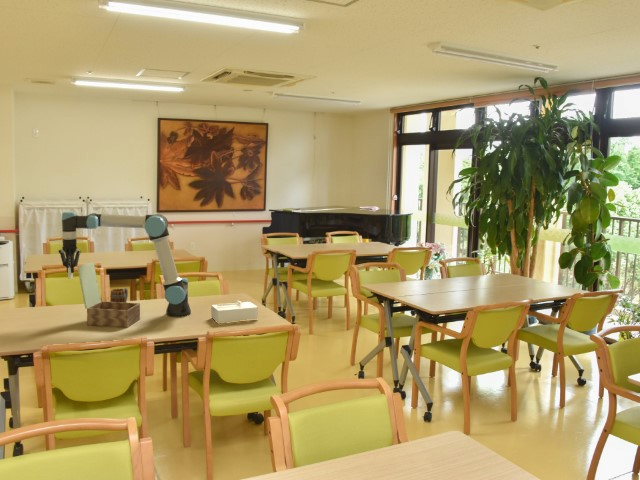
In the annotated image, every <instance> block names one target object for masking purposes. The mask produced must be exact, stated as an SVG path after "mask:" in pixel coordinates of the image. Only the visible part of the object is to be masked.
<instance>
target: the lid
mask: <svg viewBox="0 0 640 480" xmlns="http://www.w3.org/2000/svg"><path fill="white" fill-rule="evenodd" d="M94 262H95V261H91V262H88V263H85V264H82V265H80V266H76V267H77V272H78V278H79V282H80V283H79V284H80V288H81V289H80V290H81V294H82V298H83V304H84V308H85V309H86V310H87V308H89V307H91V306H93V305H95V304H97V303H99V302H101V301H102V300H101V293H100V289H99V283H98V277H97V274H96V273H97V272H96V267H95V263H94ZM85 309H84V310H85Z"/></svg>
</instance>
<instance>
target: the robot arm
mask: <svg viewBox="0 0 640 480" xmlns="http://www.w3.org/2000/svg"><path fill="white" fill-rule="evenodd" d="M168 226H169V221H168V218H167V217H166V216H164V215H163V214H162V213H161V214H159V213H157V214H145V215H127V214H102V213H95V212H92V213H89V214H87V215H77V213H76V212H75V211H64V212H62V214H61V228H62V231H61V232H62V233H61V234H62V235H61V237H62V248H61V249H58V253H59V255H60V259H61V263H62V265H63V267H66V273H67V277H68V279H69V280H71V279H72V280H73V278H74V273H75V267H78V264H79V261H80V260H79V258H80V254H81V253H82V250H81V249H78V246H77V241H78V240H77V229H83V230H84V229H89V230H93V229H95V230H97V228H98V227H104V228H105V227H106V228H109V227H110V228H125V229H126V228H127V229H128V228H129V229H143V230H145V232H146V233H147V235H148V239H149V241H150V242H152V244H153V246H154V250H155V253H156V256H157V260H158V263H159V267H160V270H161V273H162V277H163V280H164V282H163V283H162V286H163V290H164V299H165V301H167V303H168V304H167V307H166V310H165V315H166V316H167V317H173V318H181V317H182V316H183V317H187V315H188V316H190V315H191V314H192V313H191V312H192V311H191V310H192V309H191V307H190V304H189V279H188V278H187V277H180V276H179V274H178V269H177V267H176V263H175V259H174V256H173V252H172V249H171V245H170V243H169V237H170V232H169V229H168Z"/></svg>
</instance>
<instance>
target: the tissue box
mask: <svg viewBox="0 0 640 480" xmlns="http://www.w3.org/2000/svg"><path fill="white" fill-rule="evenodd" d="M210 309H211V310H210V311H211V312H210V313H211V315H210V317H212V318H213V319H214V320H215V321H217V322H218V323H223V322H232V321H240V320H247V319H257V318H258V319H259V306H257V305H256V304H254V303H252V302H251V301H244V302H242V301H241V300H236V302H234V303H233V302H232V303H231V302H229V303H217V304H211V308H210ZM212 318H211V319H212ZM213 319H212V320H213ZM214 320H213V321H214ZM215 321H214V322H215Z"/></svg>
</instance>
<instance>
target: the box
mask: <svg viewBox="0 0 640 480" xmlns="http://www.w3.org/2000/svg"><path fill="white" fill-rule="evenodd" d="M86 320H87V321H86V322H87V325H86V326H92V327H105V328H106V327H107V328H108V327H110V328H111V327H112V328H124V329H125V328H127V329H128V328H130V327H131V326H132V325H134V324H135V323H137V322H138V321H141V303H140V302H139V303H138V302H126V303H124V302H110V301H106V300H105V301H104V300H101V302H99V303H97V304H95V305H93V306H91V307H89V308H87V309H86Z"/></svg>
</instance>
